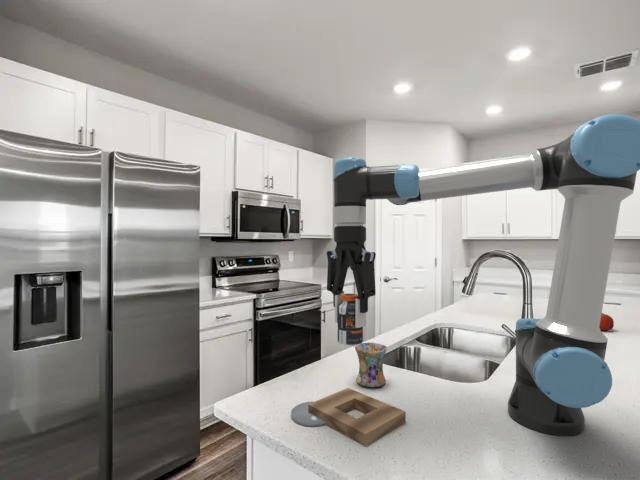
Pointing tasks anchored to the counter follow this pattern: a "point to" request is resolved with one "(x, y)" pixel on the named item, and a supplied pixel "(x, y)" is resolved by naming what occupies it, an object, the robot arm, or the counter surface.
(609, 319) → the tomato
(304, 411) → the coaster
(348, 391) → the socket block
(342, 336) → the pill bottle
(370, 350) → the mug
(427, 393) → the counter surface
